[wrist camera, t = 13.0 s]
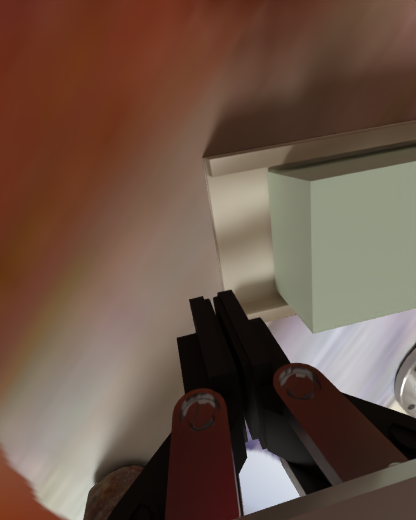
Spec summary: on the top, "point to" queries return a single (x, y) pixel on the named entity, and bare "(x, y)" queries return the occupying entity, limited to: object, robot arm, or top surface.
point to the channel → (258, 207)
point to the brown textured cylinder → (109, 492)
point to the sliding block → (346, 237)
